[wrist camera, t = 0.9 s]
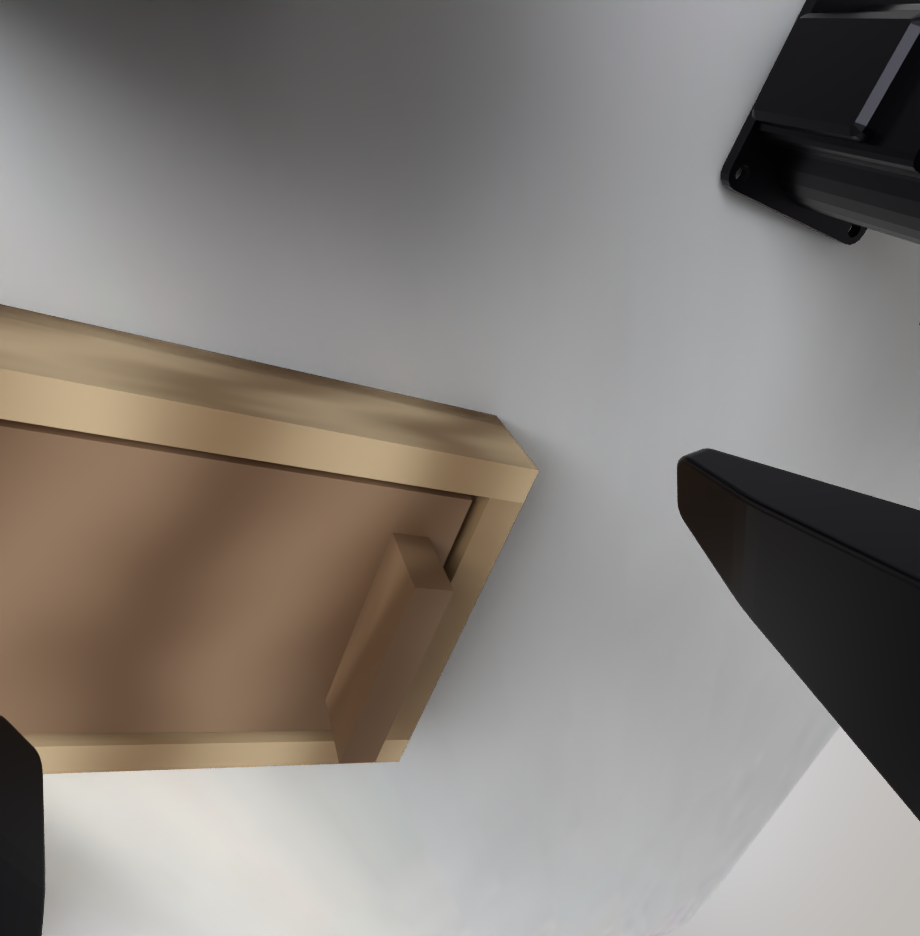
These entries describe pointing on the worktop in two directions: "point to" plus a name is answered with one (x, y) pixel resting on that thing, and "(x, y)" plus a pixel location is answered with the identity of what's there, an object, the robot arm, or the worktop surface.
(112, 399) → the tan wooden rectangular frame
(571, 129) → the worktop surface
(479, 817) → the worktop surface
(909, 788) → the robot arm
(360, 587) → the cover plate
